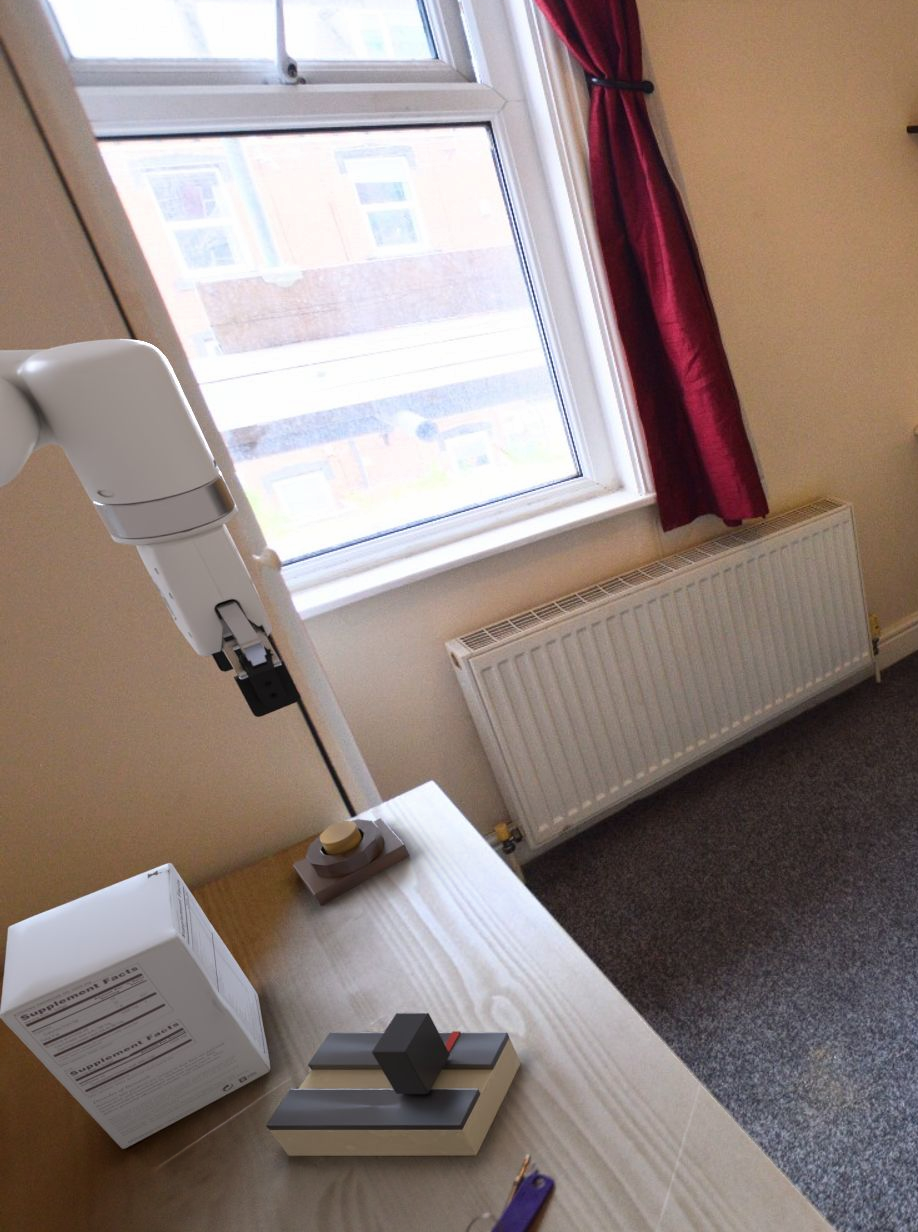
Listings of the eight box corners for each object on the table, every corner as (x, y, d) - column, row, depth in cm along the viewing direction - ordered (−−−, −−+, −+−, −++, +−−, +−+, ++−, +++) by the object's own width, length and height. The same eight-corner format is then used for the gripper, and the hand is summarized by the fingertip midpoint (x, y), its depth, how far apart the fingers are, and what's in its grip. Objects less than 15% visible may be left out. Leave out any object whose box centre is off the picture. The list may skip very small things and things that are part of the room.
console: (288, 1156, 64) (264, 1124, 62) (349, 1063, 70) (329, 1031, 68) (476, 1156, 64) (459, 1124, 62) (521, 1063, 70) (507, 1031, 68)
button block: (320, 906, 83) (306, 881, 82) (298, 876, 87) (284, 851, 85) (410, 856, 89) (398, 831, 87) (386, 828, 92) (374, 804, 90)
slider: (399, 1100, 64) (370, 1052, 61) (422, 1060, 67) (396, 1012, 64) (431, 1100, 64) (404, 1052, 61) (453, 1060, 67) (428, 1012, 64)
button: (332, 860, 84) (326, 848, 84) (321, 846, 86) (314, 833, 85) (366, 842, 86) (360, 829, 86) (355, 828, 88) (348, 816, 87)
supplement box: (118, 1060, 70) (3, 923, 62) (259, 991, 76) (171, 856, 67) (120, 1155, 64) (-8, 1016, 56) (273, 1072, 69) (178, 935, 61)
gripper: (80, 491, 68) (179, 667, 77) (130, 559, 59) (236, 750, 67) (199, 464, 73) (280, 631, 82) (262, 522, 64) (346, 704, 72)
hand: (260, 685), depth 74 cm, fingers open, 9 cm apart
